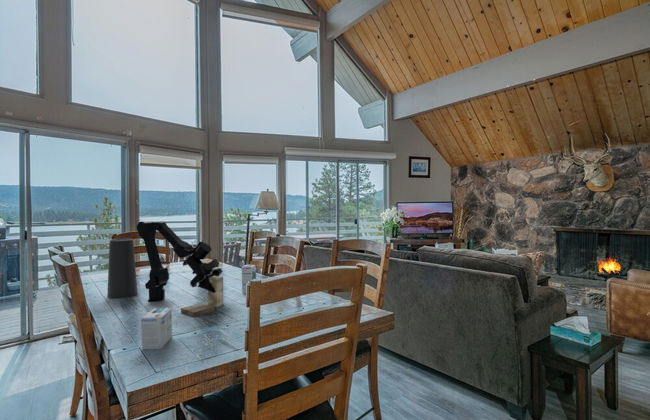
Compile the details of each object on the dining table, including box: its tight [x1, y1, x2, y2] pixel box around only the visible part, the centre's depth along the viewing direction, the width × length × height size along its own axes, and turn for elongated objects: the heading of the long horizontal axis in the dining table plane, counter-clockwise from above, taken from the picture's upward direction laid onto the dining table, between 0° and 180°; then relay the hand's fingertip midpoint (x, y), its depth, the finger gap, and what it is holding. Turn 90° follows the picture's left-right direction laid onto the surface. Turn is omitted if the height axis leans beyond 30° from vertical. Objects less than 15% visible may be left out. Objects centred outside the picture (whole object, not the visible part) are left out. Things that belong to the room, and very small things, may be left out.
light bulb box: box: [140, 307, 173, 350], centre depth 124 cm, size 11×7×11 cm, turn 5°
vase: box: [106, 237, 138, 299], centre depth 187 cm, size 14×14×29 cm
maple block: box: [207, 275, 224, 308], centre depth 169 cm, size 5×5×13 cm
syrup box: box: [241, 264, 257, 295], centre depth 191 cm, size 6×6×14 cm
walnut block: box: [180, 302, 215, 318], centre depth 159 cm, size 10×10×2 cm
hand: (218, 290), depth 169 cm, fingers closed on maple block, 5 cm apart
